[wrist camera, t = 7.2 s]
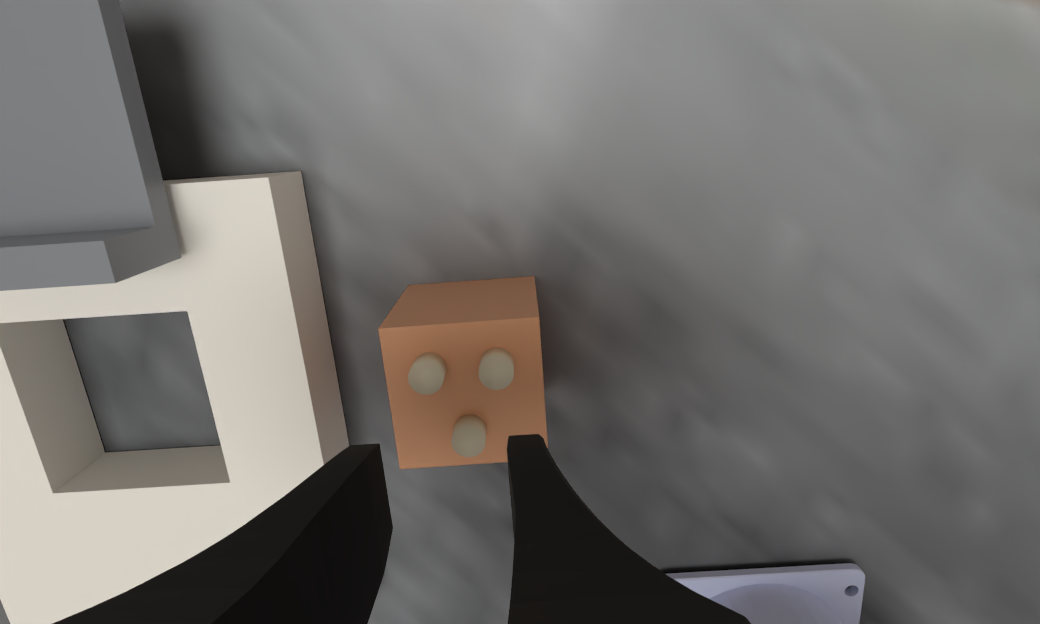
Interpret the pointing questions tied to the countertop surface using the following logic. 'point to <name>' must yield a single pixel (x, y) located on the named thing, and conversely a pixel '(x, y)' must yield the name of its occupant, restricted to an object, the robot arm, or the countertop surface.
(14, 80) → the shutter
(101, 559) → the socket board
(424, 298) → the plug
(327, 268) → the countertop surface
